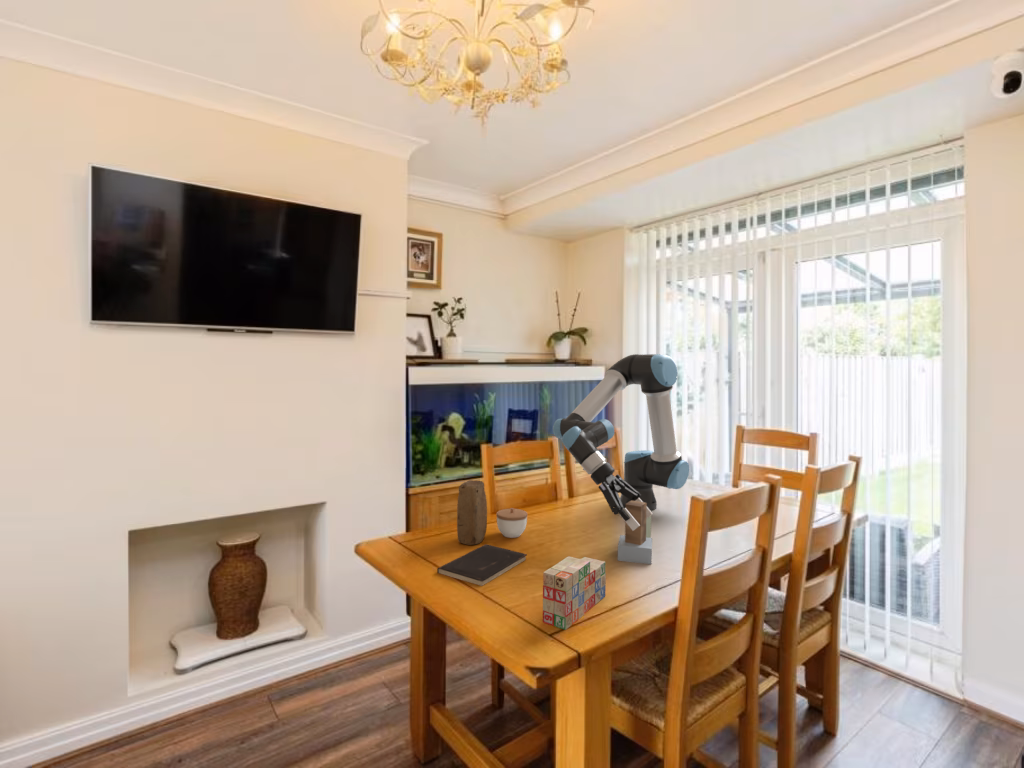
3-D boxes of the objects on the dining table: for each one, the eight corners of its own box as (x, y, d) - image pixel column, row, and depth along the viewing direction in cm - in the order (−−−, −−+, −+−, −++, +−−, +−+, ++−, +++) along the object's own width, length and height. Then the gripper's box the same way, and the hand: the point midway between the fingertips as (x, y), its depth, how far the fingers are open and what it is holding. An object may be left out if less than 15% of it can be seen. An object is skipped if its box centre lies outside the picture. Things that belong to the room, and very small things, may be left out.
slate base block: (619, 550, 173) (620, 535, 173) (651, 553, 170) (652, 538, 170) (617, 561, 163) (617, 545, 163) (651, 565, 160) (651, 548, 160)
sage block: (640, 537, 184) (640, 511, 184) (650, 542, 180) (651, 515, 179) (629, 539, 182) (629, 513, 181) (639, 544, 177) (640, 517, 177)
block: (474, 547, 173) (475, 486, 172) (454, 544, 176) (454, 484, 175) (489, 537, 183) (490, 479, 182) (470, 534, 186) (470, 477, 185)
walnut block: (630, 537, 170) (631, 500, 169) (645, 540, 167) (646, 502, 167) (625, 542, 166) (625, 504, 165) (640, 545, 163) (641, 506, 163)
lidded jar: (533, 536, 184) (533, 509, 183) (506, 542, 178) (506, 514, 178) (516, 528, 193) (516, 502, 192) (490, 533, 187) (490, 506, 187)
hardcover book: (526, 561, 163) (527, 554, 163) (482, 588, 144) (482, 580, 144) (484, 550, 172) (484, 543, 172) (437, 574, 152) (437, 567, 152)
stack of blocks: (584, 590, 142) (585, 545, 142) (605, 596, 139) (606, 550, 138) (542, 623, 125) (542, 571, 124) (565, 631, 121) (566, 577, 121)
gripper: (604, 468, 184) (646, 518, 177) (574, 483, 162) (621, 540, 156) (619, 455, 181) (662, 505, 174) (591, 468, 159) (639, 526, 153)
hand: (643, 522), depth 165 cm, fingers open, 13 cm apart
